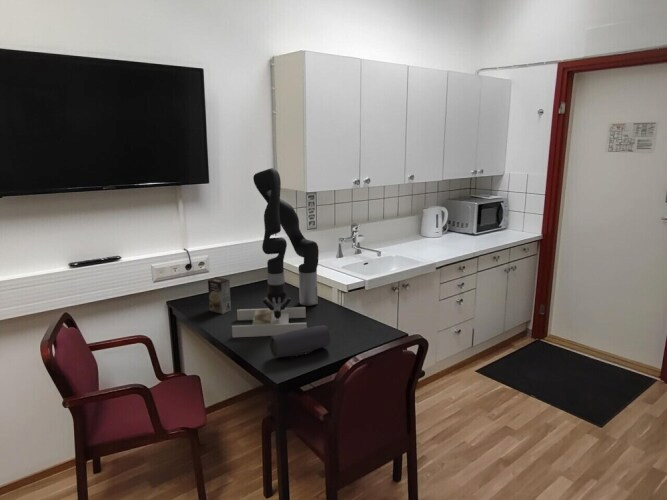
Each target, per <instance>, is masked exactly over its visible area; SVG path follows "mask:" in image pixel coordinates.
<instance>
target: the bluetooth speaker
mask: <svg viewBox="0 0 667 500" xmlns="http://www.w3.org/2000/svg"><path fill="white" fill-rule="evenodd" d="M329 330H330V329H329V328H328V326H326V325H324V324H323V325H316V326H311V327H307V328H304V329H299V330H294V331H290V332H286V333H282V334H279V335H275V336H270V339H269V349H270V352H271V354H272V356H273V357H274V358H275V359H280V358H285V357H289V356H296V357H298V356H297V355H301V354H305V353H308V354H310V353H309V352H311V353H313V352H314V350H319V349H321V348H324V347H327V346H329V345H330V344H331V335H330V331H329ZM312 351H313V352H312ZM305 355H306V354H305ZM301 356H302V355H301Z"/></svg>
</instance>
